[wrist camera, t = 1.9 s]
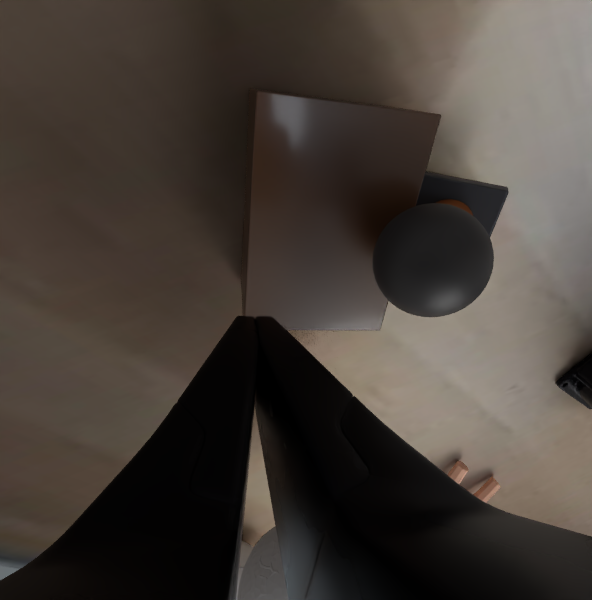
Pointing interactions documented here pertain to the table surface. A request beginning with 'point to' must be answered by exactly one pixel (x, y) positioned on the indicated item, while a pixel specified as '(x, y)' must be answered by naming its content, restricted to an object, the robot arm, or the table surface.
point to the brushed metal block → (324, 204)
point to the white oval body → (243, 559)
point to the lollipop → (263, 571)
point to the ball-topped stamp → (439, 246)
